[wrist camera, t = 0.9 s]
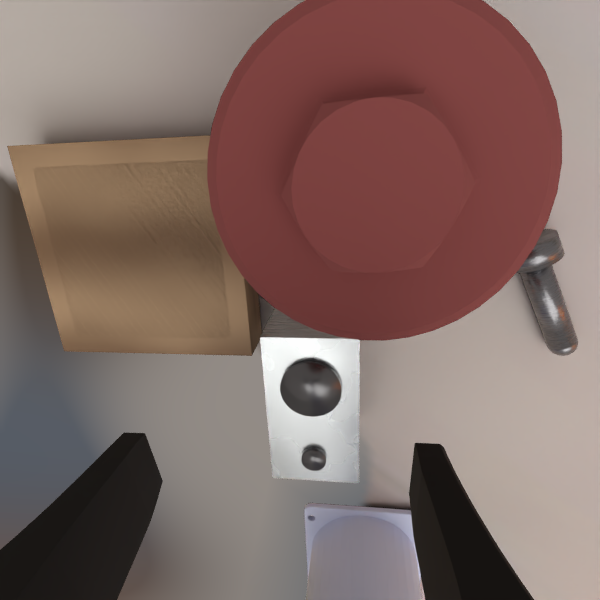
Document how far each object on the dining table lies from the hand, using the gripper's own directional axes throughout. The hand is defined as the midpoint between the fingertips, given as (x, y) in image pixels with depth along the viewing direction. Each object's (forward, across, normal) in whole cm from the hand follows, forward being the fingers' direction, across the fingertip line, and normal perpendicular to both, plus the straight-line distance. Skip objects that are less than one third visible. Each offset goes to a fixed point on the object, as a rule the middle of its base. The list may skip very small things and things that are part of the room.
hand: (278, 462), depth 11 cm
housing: (+12, 0, +6) cm, 14 cm away
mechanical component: (+14, -3, -4) cm, 15 cm away
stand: (+14, +9, -1) cm, 16 cm away
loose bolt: (+12, -12, +2) cm, 17 cm away
